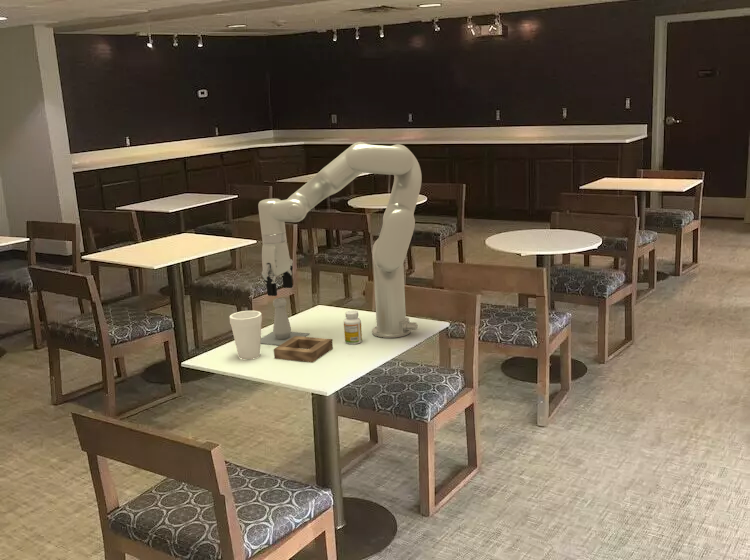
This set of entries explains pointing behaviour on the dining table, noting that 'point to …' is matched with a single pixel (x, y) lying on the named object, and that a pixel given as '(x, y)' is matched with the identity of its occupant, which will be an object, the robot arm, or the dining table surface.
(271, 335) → the grey mat
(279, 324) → the salt shaker
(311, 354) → the block
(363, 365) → the dining table surface
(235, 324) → the foam cup
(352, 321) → the supplement bottle
